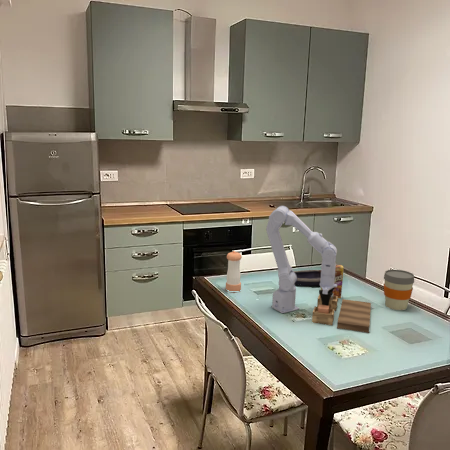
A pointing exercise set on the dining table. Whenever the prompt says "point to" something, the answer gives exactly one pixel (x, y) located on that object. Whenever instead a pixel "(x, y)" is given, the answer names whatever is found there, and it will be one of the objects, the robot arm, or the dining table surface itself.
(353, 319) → the dock
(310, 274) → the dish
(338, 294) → the candy box
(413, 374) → the dining table surface
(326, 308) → the salmon orange block
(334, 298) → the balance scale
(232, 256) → the salt shaker
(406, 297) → the reusable coffee cup
